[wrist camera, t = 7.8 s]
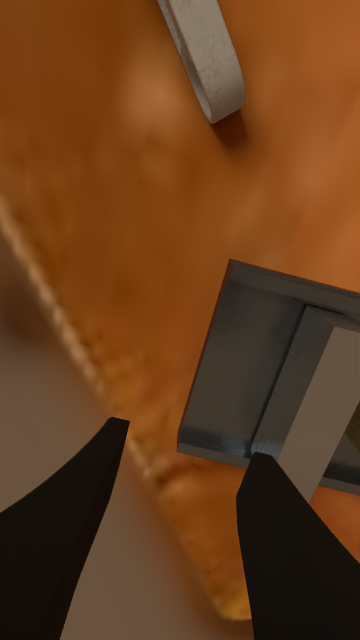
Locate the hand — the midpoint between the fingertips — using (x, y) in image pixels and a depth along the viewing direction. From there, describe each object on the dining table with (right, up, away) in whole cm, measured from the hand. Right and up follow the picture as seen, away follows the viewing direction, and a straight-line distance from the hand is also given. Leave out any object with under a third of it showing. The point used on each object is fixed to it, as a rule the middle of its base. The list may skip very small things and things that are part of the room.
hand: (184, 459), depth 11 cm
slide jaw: (+7, +1, +8) cm, 10 cm away
